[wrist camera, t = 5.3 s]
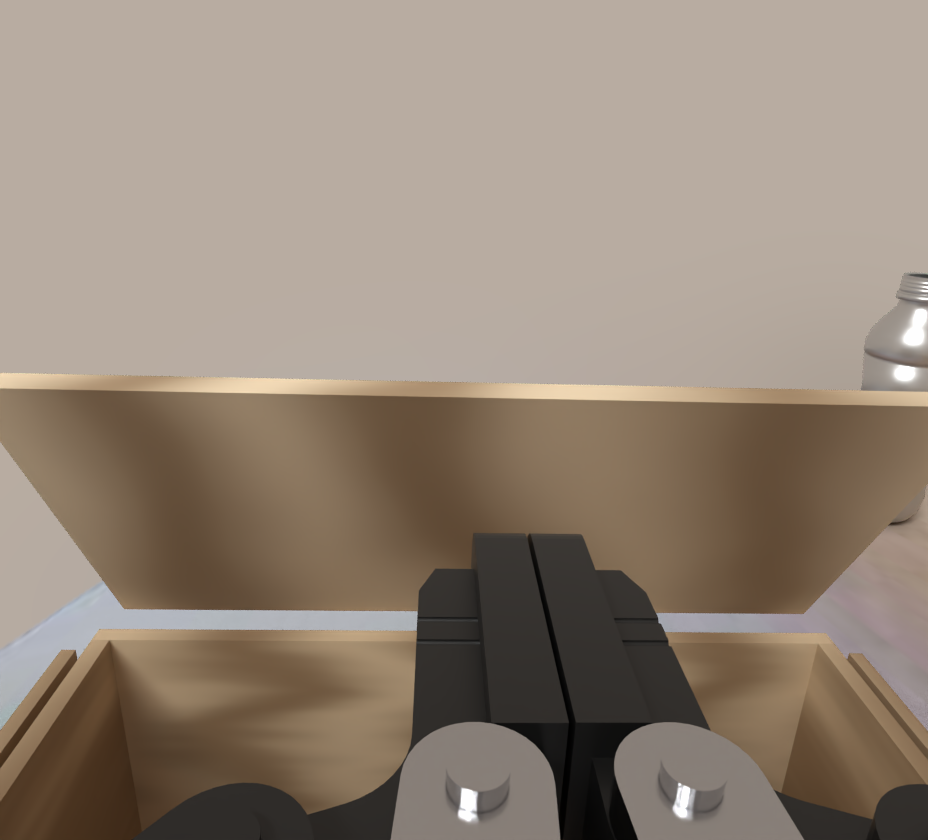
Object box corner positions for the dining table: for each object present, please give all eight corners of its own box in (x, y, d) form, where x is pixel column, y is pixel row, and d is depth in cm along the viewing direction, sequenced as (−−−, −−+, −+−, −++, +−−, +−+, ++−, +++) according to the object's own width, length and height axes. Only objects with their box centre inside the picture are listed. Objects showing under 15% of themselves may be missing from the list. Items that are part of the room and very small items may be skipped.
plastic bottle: (928, 537, 57) (1001, 286, 50) (836, 525, 59) (895, 279, 52) (903, 502, 63) (965, 273, 56) (820, 491, 65) (871, 267, 58)
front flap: (-40, 387, 14) (-31, 372, 14) (124, 608, 21) (128, 596, 22) (1000, 407, 15) (990, 392, 15) (803, 613, 22) (799, 601, 22)
